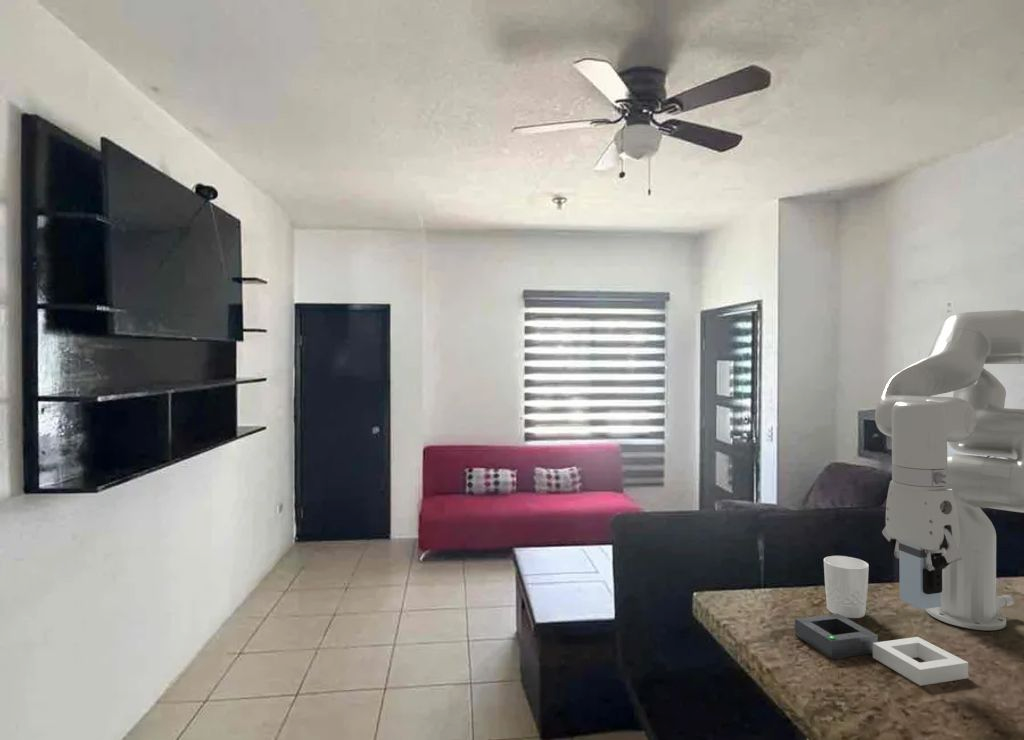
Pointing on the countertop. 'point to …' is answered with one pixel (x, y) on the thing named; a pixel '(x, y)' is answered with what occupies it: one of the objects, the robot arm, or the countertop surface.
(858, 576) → the white cup
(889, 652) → the holster
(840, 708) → the countertop surface
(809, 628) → the port
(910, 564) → the plug
